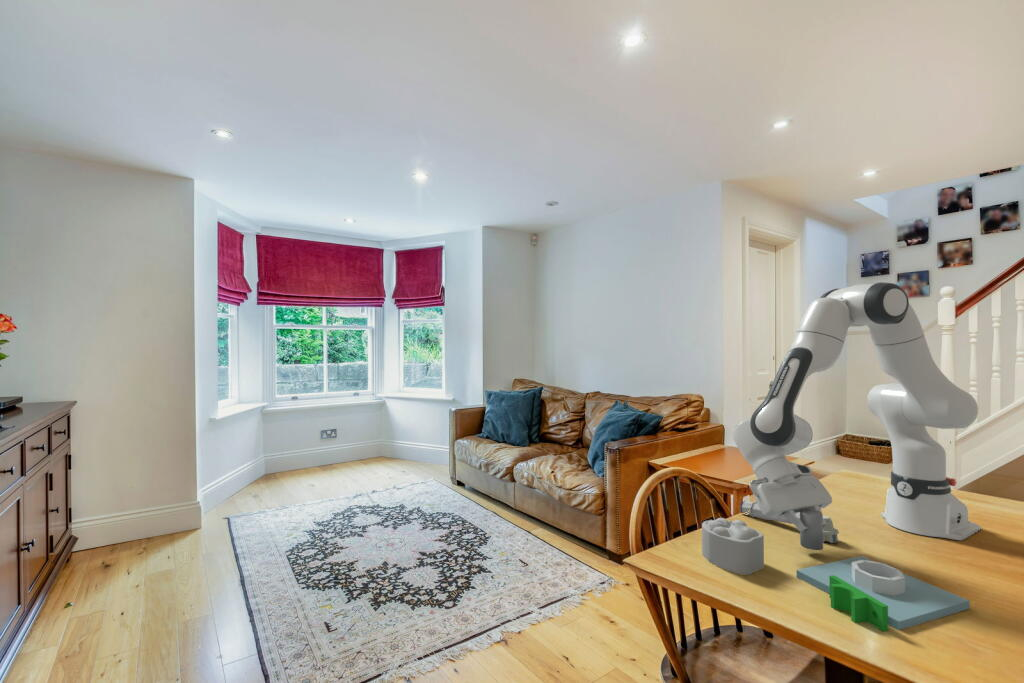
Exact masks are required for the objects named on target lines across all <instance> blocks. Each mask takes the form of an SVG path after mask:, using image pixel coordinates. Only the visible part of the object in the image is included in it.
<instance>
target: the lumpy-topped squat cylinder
mask: <svg viewBox="0 0 1024 683" xmlns="http://www.w3.org/2000/svg"><path fill="white" fill-rule="evenodd" d="M764 540H765V539H764V534H763V533H762V532H761V531H759V530H757V529H754V528H752V527H751V526H748V524H746V522H744V521H743V520H741V519H735V520H733V521H731V520H728V519H726V518H724V517H718V518H716V519H715V520H713V519H709V520H705V521H703V522H702V523H701V555H702V554H703V555H702V557H703V556H704V557H705V558H706V559H707V560H708V561H709V562H710V563H709V562H708V561H707V560H706V559H705V558H704V557H703V558H704V559H705V560H706V561H707V562H708V563H709V564H711V563H712V564H711V565H713V564H714V565H713V566H715V565H716V567H718V566H719V567H718V568H720V567H721V568H720V569H722V568H723V570H725V569H726V570H725V571H727V570H728V572H730V571H731V572H730V573H733V572H734V573H733V574H736V573H737V575H741V574H743V575H742V576H749V575H753V572H754V571H755V572H757V571H760V570H762V569H764V568H765V559H764V558H765V555H764V554H765V549H764V548H765V544H764V543H765V541H764ZM756 570H757V571H756ZM755 572H754V573H755Z"/></svg>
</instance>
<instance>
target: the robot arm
mask: <svg viewBox="0 0 1024 683" xmlns="http://www.w3.org/2000/svg"><path fill="white" fill-rule="evenodd" d="M909 301H910V300H909V297H908V295H907V293H906V292H905V290H904V289H903V288H902V287H901V286H900V285H898V284H896V283H892V282H877V283H862V284H861V283H860V284H855V285H852V286H846V287H842V288H834V289H831V290H829V291H826V292H825V293H823V294H822V295H821V296H820V297H819V298H817V299H815V300H812V301H811V302H810V303H809V305H808V307H807V308H806V310H805V312H804V313H803V314H802V317H801V319H800V321H799V324H798V326H797V329H796V332H795V334H794V337H793V340H792V343H791V345H790V347H789V350H788V351H787V353H786V354H785V356H784V358H783V360H782V362H781V364H780V366H779V368H778V370H777V372H776V375H775V377H774V379H773V381H772V384H771V386H770V389H769V390H768V392H767V395H766V397H765V399H764V400H763V401H762V402H761V404H760V405H759V406H758V407H757V408H756V409H755V410H754V412H753V413H752V415H751V417H749V418H745V419H743V420H741V421H740V422H738V424H737V425H736V426H735V428H734V429H733V432H732V437H733V440H734V442H735V445H736V447H737V449H738V450H739V452H740V453H741V456H742V457H743V458H744V460H745V461H746V462H747V463H748V464H749V465H750V467H751V468H752V471H753V474H754V475H755V476H756V479H752V480H750V483H749V489H750V490H751V492H752V494H753V497H754V501H755V502H757V504H758V506H759V508H760V510H761V511H762V513H763V514H764V515H765V516H766V517H768V518H771V517H777V516H782V515H784V516H785V518H786V519H787V520H788V521H790V522H791V523H792V524H791V525H794V526H795V527H796V529H797V530H798V532H799V533H800V532H802V531H806V530H807V529H808V526H807V525H806V523H805V522H804V521H801V520H800V519H798V518H797V517H796V516H795V515H796V513H800V510H802V509H810V510H815V511H819V512H821V513H822V514H823V512H822V509H825V508H826V507H829V506H830V504H833V498H832V495H831V494H830V492H829V490H827V488H826V487H825V486H824V484H823V483H822V482H821V481H820V479H818V477H816V476H815V475H812V474H813V473H814V472H813V469H811V467H809V466H808V465H805V464H799V463H795V462H793V461H789V459H787V457H786V456H788V455H791V454H794V453H796V452H799V451H802V450H804V449H805V448H807V447H808V446H809V445H810V443H811V442H812V440H813V429H812V427H811V425H810V423H809V422H808V421H807V420H805V419H804V418H802V417H801V416H799V415H797V414H795V410H794V408H795V405H796V404H797V400H798V399H799V396H800V393H801V392H802V389H803V386H804V384H805V382H806V380H807V379H808V378H809V377H810V376H811V375H813V374H814V373H820V372H825V371H827V370H829V369H831V368H832V367H833V366H835V364H836V363H837V360H838V359H839V358H840V355H841V353H842V351H843V347H844V345H845V342H846V339H847V334H848V331H849V330H848V329H849V328H850V327H864V326H867V328H868V329H869V332H870V338H871V341H872V344H873V348H874V351H875V353H876V354H875V355H876V357H877V360H878V364H879V367H880V368H881V370H882V371H883V372H884V373H886V374H887V375H889V376H890V377H892V378H893V379H895V381H897V382H891V383H890V382H889V383H882V384H877V385H875V386H873V387H872V388H871V389H870V390H869V392H868V393H867V398H866V402H867V403H866V404H867V407H868V409H869V411H870V412H871V413H872V414H873V415H874V416H875V417H876V418H878V420H879V421H880V422H881V424H882V425H883V427H884V429H885V431H886V434H887V435H888V437H889V442H890V445H891V455H892V470H891V471H890V478H889V479H890V485H891V487H888V488H887V491H886V500H885V510H884V511H882V512H881V513H880V516H881V517H882V518H884V519H885V523H886V524H888V525H890V526H892V527H893V528H896V529H899V530H901V531H905V532H908V533H910V534H911V533H912V534H916V535H920V536H926V537H935V538H943V539H950V540H955V541H963V540H965V539H967V538H969V537H971V536H972V535H974V534H976V533H977V532H979V531H981V530H980V529H981V525H979V524H977V523H975V522H973V521H970V520H969V511H968V510H969V509H968V507H967V505H966V504H965V503H963V502H962V501H961V500H960V499H959V498H957V497H956V496H955V495H954V494H953V493H952V489H951V487H956V485H957V480H956V479H955V478H953V477H948V476H947V464H946V463H947V453H946V451H945V448H944V447H943V445H941V444H940V443H939V442H938V441H936V440H935V439H934V438H933V437H932V436H931V435H930V433H929V432H928V430H927V427H928V428H929V427H930V428H935V429H941V430H943V429H944V430H948V429H949V430H950V429H952V430H953V429H956V430H957V429H965V428H968V427H970V426H971V425H972V424H973V423H975V421H976V419H977V418H978V414H979V406H978V403H977V401H976V399H975V398H974V397H973V395H972V394H970V393H969V392H967V391H966V390H964V389H961V388H960V387H959V386H957V385H956V384H954V383H953V382H952V381H951V380H950V379H949V378H948V377H947V376H946V375H945V374H944V373H943V372H942V371H941V369H940V368H939V366H938V365H937V364H936V362H935V361H934V359H933V356H932V353H931V350H930V347H929V346H928V342H927V339H926V335H925V333H924V330H923V327H922V325H921V322H920V319H919V318H918V314H916V312H915V310H914V308H913V307H912V305H911V303H910V302H909ZM826 525H827V523H826V522H825V520H824V519H823V527H825V526H826ZM978 530H979V531H978ZM975 532H976V533H975Z"/></svg>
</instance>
